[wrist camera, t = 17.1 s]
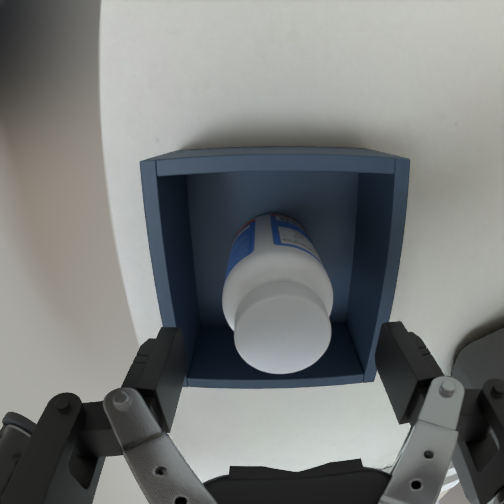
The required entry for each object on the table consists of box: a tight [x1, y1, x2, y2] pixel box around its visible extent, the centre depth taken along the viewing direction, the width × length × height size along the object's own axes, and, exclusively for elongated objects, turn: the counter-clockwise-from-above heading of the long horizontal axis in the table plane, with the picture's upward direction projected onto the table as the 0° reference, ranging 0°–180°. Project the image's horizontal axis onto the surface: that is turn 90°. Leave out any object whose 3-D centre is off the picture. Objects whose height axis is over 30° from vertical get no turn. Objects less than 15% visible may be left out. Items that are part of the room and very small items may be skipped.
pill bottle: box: [222, 214, 333, 374], centre depth 17 cm, size 6×5×10 cm
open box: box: [140, 146, 410, 389], centre depth 19 cm, size 13×14×7 cm
